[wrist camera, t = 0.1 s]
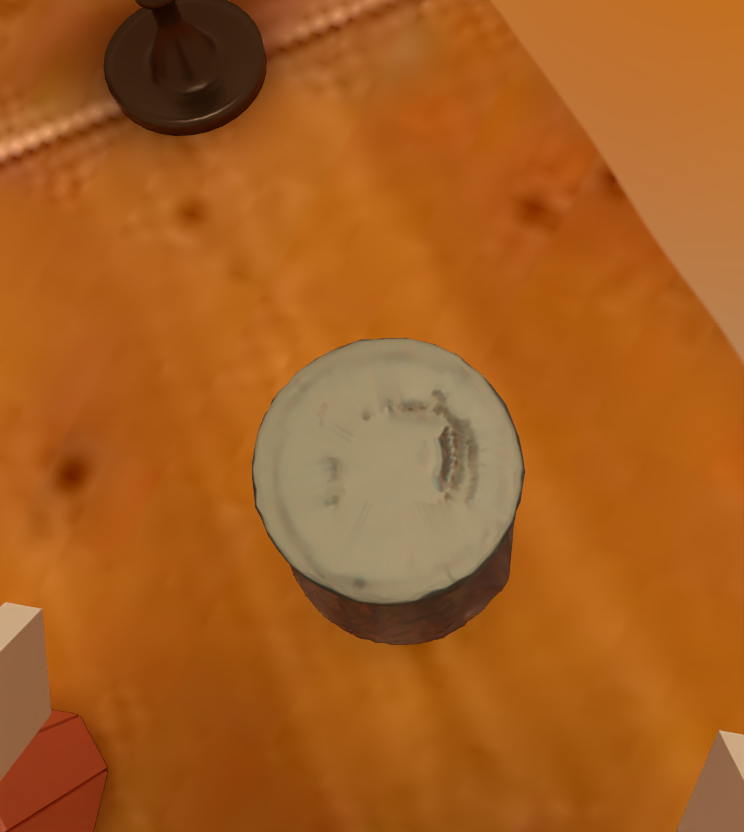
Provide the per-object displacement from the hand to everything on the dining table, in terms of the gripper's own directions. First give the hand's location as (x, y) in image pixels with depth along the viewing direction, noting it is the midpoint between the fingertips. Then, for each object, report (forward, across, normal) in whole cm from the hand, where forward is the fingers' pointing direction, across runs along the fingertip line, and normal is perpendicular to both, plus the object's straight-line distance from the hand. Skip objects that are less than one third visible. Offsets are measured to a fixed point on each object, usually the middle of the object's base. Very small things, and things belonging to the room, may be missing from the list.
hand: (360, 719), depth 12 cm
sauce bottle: (+15, 0, +6) cm, 16 cm away
